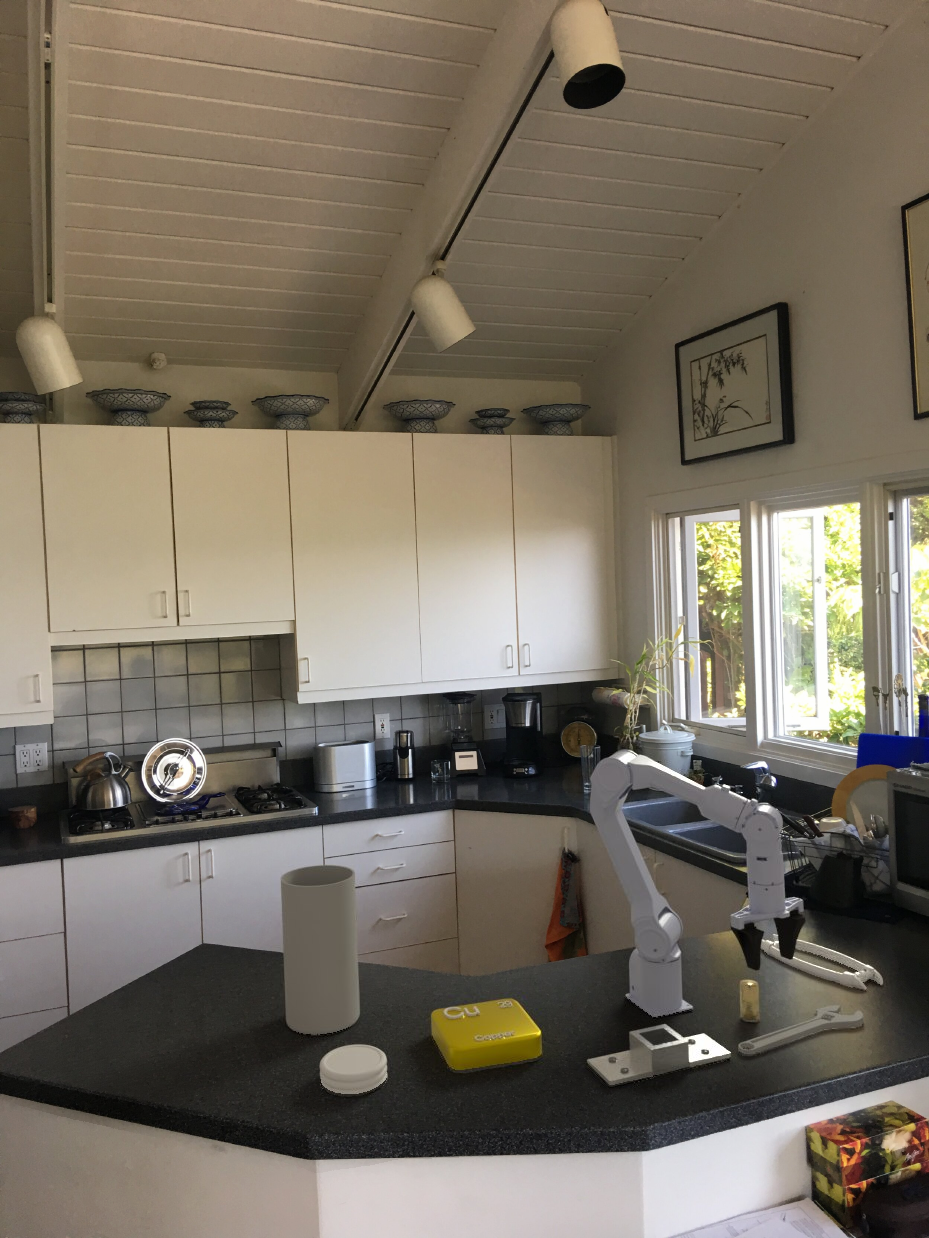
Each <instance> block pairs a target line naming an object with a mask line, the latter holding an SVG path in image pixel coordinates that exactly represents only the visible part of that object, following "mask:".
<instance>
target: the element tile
mask: <svg viewBox="0 0 929 1238" xmlns="http://www.w3.org/2000/svg"><path fill="white" fill-rule="evenodd" d="M430 1019H431V1021H430V1022H431V1023H430V1024H431V1027H430V1028H431V1037H432V1036H433V1038H434V1040H435V1041H436V1043H437V1045H438V1047H439V1049H440V1051H441V1052H442V1054H443V1056H444V1058H445V1060H446V1062H447V1064H448V1065H449V1067H451V1068H452V1069H455V1070H465V1069H472V1068H479V1067H485V1066H490V1065H497V1064H504V1063H511V1062H518V1061H523V1060H527V1059H533V1058H537V1057H538V1056H540V1055H541V1054H542V1055H543V1045H542V1044H543V1043H542V1038H543V1037H542V1030H541V1029H540V1028H539V1026H538V1025H537V1024H536V1023H535V1021H534V1020H533V1019H532V1018H531V1017H530V1015H529V1014H528V1013H527V1012H526V1010H525V1009H524V1008H523V1006H522V1005H521V1004H520V1003H519V1002H518V1001H517V1000H515V999H513V998H503V999H495V1000H488V1001H482V1002H477V1003H471V1004H470V1003H469V1004H468V1003H467V1004H463V1005H456V1006H449V1007H443V1008H437V1009H435V1010H433V1011H432V1012H431V1014H430Z"/></svg>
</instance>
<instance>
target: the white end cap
mask: <svg viewBox="0 0 929 1238" xmlns="http://www.w3.org/2000/svg"><path fill="white" fill-rule="evenodd" d="M387 1063H388V1059H387V1055H386V1053H385V1052H384V1051H383V1050H381V1049H379V1048H377V1047H375V1046H372V1045H368V1044H347V1045H344V1046H339V1047H337V1048H334V1049H332V1050H331V1051H329V1052H328V1053H326V1054H325V1055H324V1056H323V1057H322V1058H321V1060H320V1062H319V1070H320V1071H319V1076H320V1079H321V1083H322V1085H323V1086H324V1087H325V1088H327V1089H328V1090H330V1091H333V1092H335V1093H341V1094H359V1093H363V1092H367V1091H370V1090H372V1089H374V1088H376V1087H378V1086H379V1085H380V1084H382V1083H383V1082H384V1081H385V1080H386V1078H387V1079H388V1072H387V1071H388V1065H387ZM386 1081H387V1080H386Z"/></svg>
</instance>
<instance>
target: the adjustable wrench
mask: <svg viewBox="0 0 929 1238" xmlns="http://www.w3.org/2000/svg"><path fill="white" fill-rule="evenodd" d="M841 1011H842V1010H841V1005H839V1004H838V1005H837V1004H836V1005H835V1004H834V1005H827V1006H823V1007H820V1008H815V1011H814V1013H813V1016H816V1017H813V1018H811V1019H809V1020H805V1021H802V1022H800V1023H796V1024H794V1025H790V1026H787V1027H784V1028H781V1029H778V1030H775V1031H772V1032H769V1033H766V1034H763V1035H761V1036H757V1037H754V1038H752V1039H748V1040H746V1041H742V1042H740V1043H739V1044H738V1045H737V1046H738V1052H739V1051H740V1052H742V1053H744V1054H755V1053H756V1052H761V1051H763V1050H765V1049H768V1048H771V1047H774V1046H778V1045H781V1044H783V1043H787V1042H789V1041H792V1040H794V1039H798V1038H800V1037H802V1036H806V1035H809V1034H811V1033H815V1032H818V1031H820V1030H824V1029H832V1028H851V1027H858V1026H860V1025H862V1024H863V1025H864V1013H863V1012H862V1011H861V1010H859V1009H857V1010H856V1011H855V1012H854V1014H852V1015H851V1014H850V1015H849V1014H839V1012H841ZM841 1013H842V1012H841ZM863 1025H862V1026H863ZM744 1047H745V1048H746V1047H748V1048H750V1049H749V1050H748V1049H743V1048H744Z"/></svg>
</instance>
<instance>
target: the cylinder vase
mask: <svg viewBox="0 0 929 1238" xmlns="http://www.w3.org/2000/svg"><path fill="white" fill-rule="evenodd" d="M280 891H281V892H280V893H281V919H282V921H281V922H282V925H281V926H282V947H283V949H282V950H283V972H284V973H283V974H284V978H283V979H284V998H285V999H284V1000H285V1001H284V1003H285V1005H284V1006H285V1021H286V1025H287V1027H288V1028H289V1029H291V1030H292V1031H294V1032H295V1031H296V1033H298V1032H299V1033H298V1034H301V1033H303V1034H302V1035H306V1034H311V1035H310V1036H321V1035H320V1034H327V1033H332V1034H334V1033H333V1032H336V1033H338V1032H337V1031H339V1032H341V1031H340V1030H342V1031H344V1030H343V1029H345V1030H346V1028H347V1029H349V1028H350V1027H352V1026H353V1025H355V1023H356V1022H357V1021H358V1019H359V1018H360V1014H361V1011H360V1010H361V1008H360V1007H361V1006H360V1005H361V1004H360V983H359V979H360V977H359V959H358V958H359V955H358V953H359V952H358V951H359V950H358V928H357V927H358V925H357V899H356V898H357V897H356V895H357V893H356V873H355V871H354V870H353V869H352V868H350V867H348V866H345V865H335V864H334V865H333V864H319V865H309V866H303V867H299V868H296V869H292V870H289V871H287V872H285V873H284V874H282V876H281V877H280ZM348 1027H349V1028H348ZM317 1034H318V1035H317ZM327 1035H328V1034H327Z"/></svg>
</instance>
